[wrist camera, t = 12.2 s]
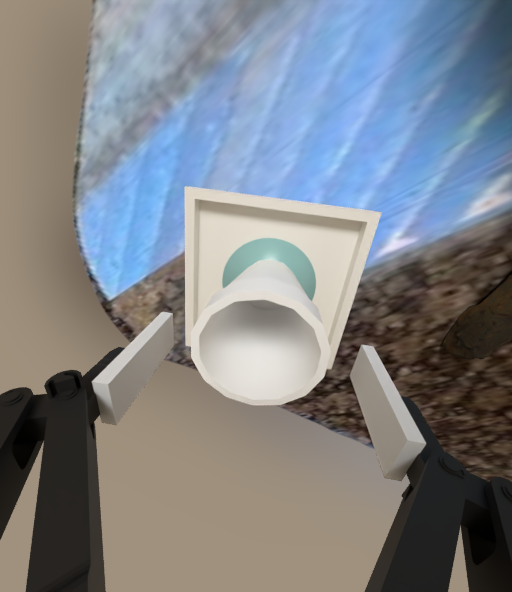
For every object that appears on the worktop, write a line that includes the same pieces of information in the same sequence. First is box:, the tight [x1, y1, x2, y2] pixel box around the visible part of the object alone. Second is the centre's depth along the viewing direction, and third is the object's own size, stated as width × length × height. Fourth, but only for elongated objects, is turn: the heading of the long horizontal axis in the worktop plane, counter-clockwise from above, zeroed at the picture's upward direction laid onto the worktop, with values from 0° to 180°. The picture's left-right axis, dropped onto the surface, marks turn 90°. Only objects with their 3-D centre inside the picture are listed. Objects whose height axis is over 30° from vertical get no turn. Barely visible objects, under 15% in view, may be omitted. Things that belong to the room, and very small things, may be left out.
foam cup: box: [191, 259, 331, 405], centre depth 22 cm, size 10×9×13 cm
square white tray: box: [185, 186, 382, 369], centre depth 28 cm, size 19×19×2 cm
